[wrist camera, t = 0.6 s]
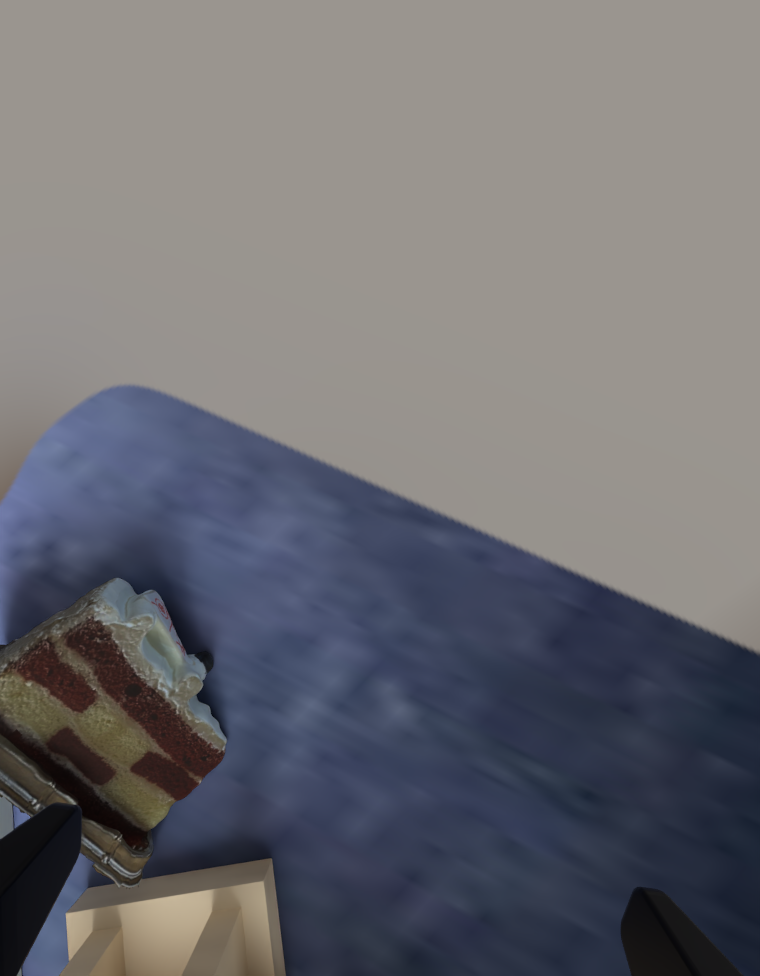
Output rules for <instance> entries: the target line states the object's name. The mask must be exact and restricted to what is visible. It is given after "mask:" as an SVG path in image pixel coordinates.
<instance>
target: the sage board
mask: <svg viewBox="0 0 760 976" xmlns="http://www.w3.org/2000/svg"><path fill="white" fill-rule="evenodd" d="M13 830H14V828H13V810H12V804H11V802H9V801H8V800H7V799H6V798H5V797H4V796H3V797H2V798H1V797H0V839H1V838H3V837H4V836H5V835H7V834H8V833H10V832H11V831H13ZM17 976H22V972H21V969H20V971H19V973H18V974H17Z"/></svg>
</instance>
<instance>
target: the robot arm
mask: <svg viewBox="0 0 760 976" xmlns="http://www.w3.org/2000/svg"><path fill="white" fill-rule="evenodd" d="M81 837H82V809H81V808H80V806H79V805H75V804H68V803H61V802H56V803H53V804H51V805H49V806H47V807H45V808H44V809H43V810H41V811H40V812H38V813H37V814H35V815H34V816H33V817H31V818H30V819H28V820H27V821H25V822H24V823H23V824H21V825H20V826H18V827H17V828H15V829H14V830H13V831H11V832H10V833H8V834H7V835H5V836H4V837H3V838H1V839H0V976H17V974H18V973H19V971H20V969H21V967H22V965H23V963H24V961H25V959H26V957H27V955H28V953H29V951H30V950H31V948H32V946H33V944H34V942H35V940H36V938H37V936H38V934H39V932H40V930H41V928H42V927H43V925H44V923H45V921H46V919H47V917H48V915H49V913H50V911H51V909H52V907H53V905H54V903H55V902H56V900H57V898H58V896H59V894H60V892H61V890H62V888H63V886H64V884H65V882H66V880H67V879H68V877H69V875H70V873H71V871H72V869H73V867H74V865H75V863H76V861H77V858H78V856H79V853H80V849H81ZM621 938H622V943H623V947H624V950H625V954H626V958H627V961H628V965H629V968H630V972H631V975H632V976H743V975H742V974H741V973H740V971H739V970H738V969H737V968H736V967H735V966H734V965H733V964H732V963H731V962H730V961H729V960H728V959H727V958H726V957H725V956H724V955H723V953H722V952H721V951H720V950H719V949H718V948H717V947H716V946H715V945H714V944H713V943H712V942H711V941H710V940H709V939H708V938H707V937H706V935H705V934H704V933H703V932H702V931H701V930H700V929H699V928H698V927H697V926H696V925H695V924H694V923H693V922H692V921H691V920H690V919H689V918H688V916H687V915H686V914H685V913H684V912H683V911H682V910H681V909H680V908H679V907H678V906H677V905H676V904H675V903H674V902H673V901H672V900H671V898H670V897H669V896H667V895H666V894H665V893H664V892H662V891H660V890H657V889H652V888H645V887H637V888H635V889H634V890H633V892H632V894H631V897H630V899H629V902H628V905H627V907H626V910H625V913H624V915H623V918H622V921H621Z"/></svg>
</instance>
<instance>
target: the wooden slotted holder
mask: <svg viewBox="0 0 760 976" xmlns="http://www.w3.org/2000/svg"><path fill="white" fill-rule="evenodd" d="M66 923H67V938H68V953H69V963H68V964H67V966H66V967H65V968H64V970H63V971H62V972H61V974H60V975H59V976H286V972H285V964H284V955H283V947H282V939H281V930H280V922H279V913H278V905H277V897H276V888H275V880H274V871H273V863H272V858H269V859H263V860H257V861H251V862H245V863H238V864H232V865H226V866H220V867H214V868H208V869H202V870H196V871H189V872H183V873H177V874H171V875H165V876H159V877H153V878H146V879H141V881H140V884H139V887H138V885H136V886H134V887H133V888H132V887H131V888H130V889H129V888H127V889H126V887H122V886H120V888H118V887H117V885H116V884H110V885H103V886H97V887H91V888H87V890H86V891H85V892H84V893H83V894H82V895H81V896H80V898H79V899H78V900H77V901H76V902H75V903H74V905H73V906H72V907H71V908H70V909H69V910H68V912H67V913H66Z"/></svg>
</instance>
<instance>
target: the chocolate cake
mask: <svg viewBox="0 0 760 976" xmlns="http://www.w3.org/2000/svg"><path fill="white" fill-rule="evenodd" d="M212 667H213V660H212V657H211V655H210V654H209V653H207V652H200V653H198V654H190V655H187V654H186V651H185V649H184V647H183V645H182V643H181V641H180V639H179V637H178V636H177V634H176V630H175V628H174V626H173V624H172V621H171V618H170V616H169V614H168V612H167V609H166V607H165V605H164V602H163V600H162V599H161V597H160V595H158V593H157V592H156V591H154V590H148V591H145V592H144V593H142V594H140V595H137V594H136V593H135V592H134V590H133V588H132V587H131V585H130V584H129V583H128V582H126V581H124V580H123V579H120V578H114V579H112V580H110V581H107V582H105V583H104V584H102V585H101V586H98V587H96V588H95V589H93V590H91V591H89V592H88V593H87V594H86V595H85V596H83V597H81V598H79V599H78V600H77V601H76V602H75V603H74V604H73V605H72V606H71V607H69V608H68V609H66V610H63V611H60V612H58V613H56V614H55V615H53V616H51V617H50V618H49V619H47V620H46V621H44V622H42V623H41V624H39V625H38V626H36V627H35V628H33V629H32V630H31V631H30V632H29V633H27V634H26V635H24V636H23V637H21V638H19V639H15V640H13V641H12V642H11V643H9V644H7V645H0V797H1V798H2V797H3V796H4V797H5V798H6V799H7V800H8V801H9V802H11V804H13V805H15V806H16V807H18V808H19V809H20V812H23V813H27V814H28V815H29V816H30V817H33V816H34V815H35V814H37V813H38V812H40V811H41V810H43V809H44V808H45V807H47V806H49V805H51V804H53V803H56V802H61V803H68V804H75V805H79V806H80V808H81V809H82V837H81V849H80V853H82V854H83V855H85V856H86V858H88V859H90V860H91V861H93V862H95V864H94V865H93V867H94V868H95V870H96V871H97V872H98V873H101V874H102V876H107V877H108V878H110V879H112V880H113V881H114V882H115V884H116V885H117V887H118V888H120V886H122V887H126V889H127V888H129V889H130V888H131V887H132V888H133V887H134V886H136V885H138V887H139V884H140V881H141V879H142V877H143V873H142V871H143V867H144V865H145V864H146V863H147V861H148V860H149V858H150V857H151V856H152V853H153V848H154V845H153V839H152V834H151V829H152V828H154V827H155V826H156V825H157V824H158V823H159V822H160V821H161V820H163V819H164V818H165V817H166V816H167V814H168V812H169V809H170V807H171V806H172V805H173V803H175V802H176V801H178V800H181V799H183V798H185V797H186V796H187V795H188V794H190V793H191V791H192V790H193V789H194V788H195V787H197V786H198V785H199V784H200V783H201V781H202V779H203V778H204V777H205V776H206V775H207V774H208V773H209V772H210V771H211V770H213V769H214V768H215V767H216V766H217V765H218V764H219V763H220V762H221V761H222V759H223V756H224V754H225V745H226V742H227V739H226V737H225V736H224V734H223V733H222V731H221V730H220V727H219V723H218V721H217V720H216V719H215V718H214V717H213V716H212V715H211V710H210V707H209V706H208V705H206V704H204V703H201V702H199V701H198V699H197V696H196V694H197V693H199V691H200V690H201V689H202V687H203V682H202V681H203V680H204V679H205V676H206V674H207V673H208V672H209V671H210V670H211V669H212Z"/></svg>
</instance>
